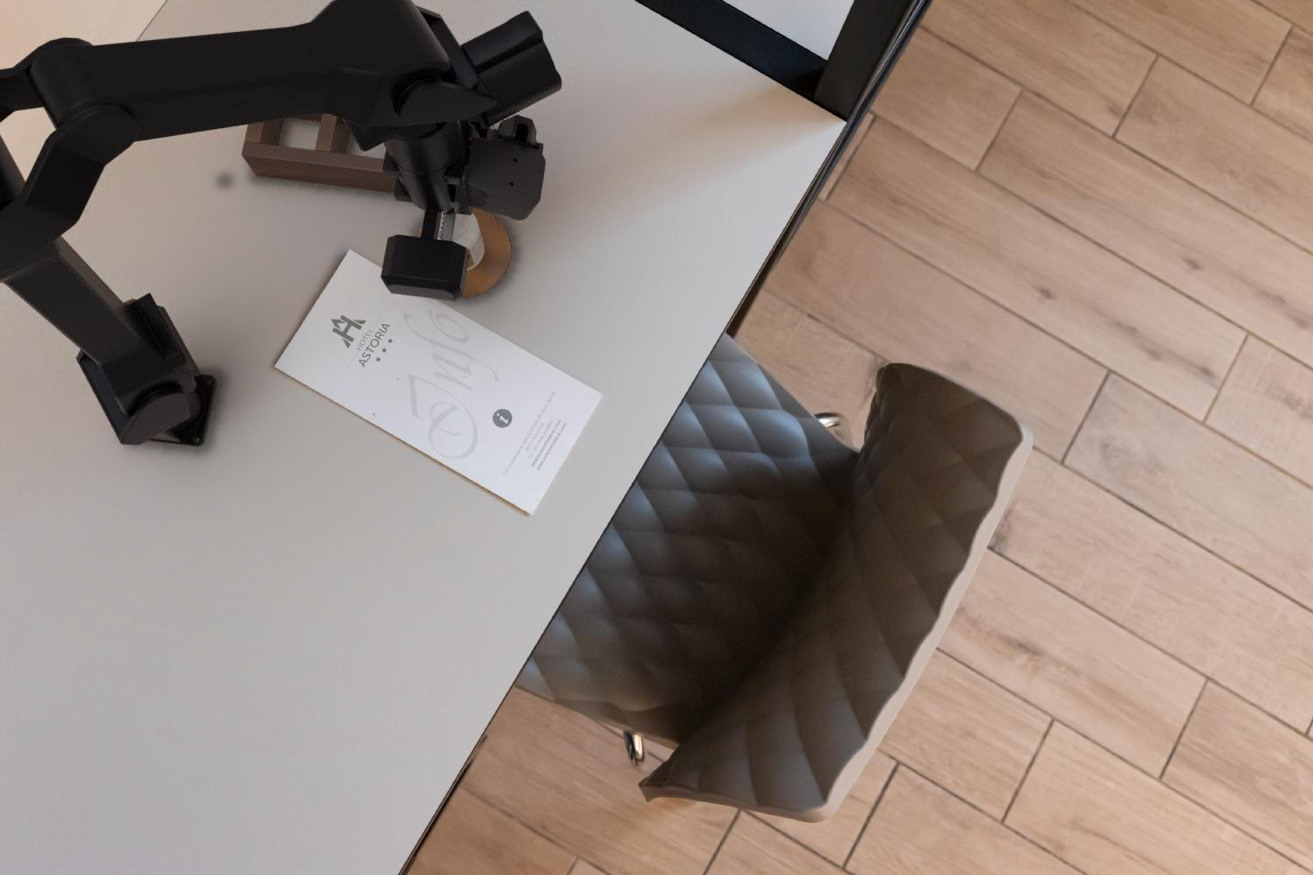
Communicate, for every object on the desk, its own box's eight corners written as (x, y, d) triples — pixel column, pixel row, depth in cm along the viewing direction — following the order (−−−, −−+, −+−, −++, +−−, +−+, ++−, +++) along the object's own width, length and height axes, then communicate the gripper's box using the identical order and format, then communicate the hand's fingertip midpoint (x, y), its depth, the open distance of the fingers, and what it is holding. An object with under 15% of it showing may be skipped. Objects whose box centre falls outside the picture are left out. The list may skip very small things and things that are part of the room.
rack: (473, 203, 93) (468, 183, 89) (255, 176, 93) (240, 155, 89) (485, 129, 95) (480, 106, 91) (272, 102, 94) (257, 78, 90)
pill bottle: (430, 265, 91) (415, 229, 84) (446, 223, 92) (433, 184, 85) (475, 279, 91) (464, 244, 84) (491, 237, 92) (481, 199, 85)
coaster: (503, 303, 91) (503, 301, 91) (406, 291, 91) (406, 289, 91) (517, 214, 93) (516, 212, 93) (422, 202, 93) (421, 200, 93)
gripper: (515, 269, 70) (531, 338, 85) (550, 39, 74) (558, 144, 89) (359, 250, 70) (402, 323, 85) (402, 20, 74) (436, 129, 89)
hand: (454, 228), depth 87 cm, fingers open, 9 cm apart
